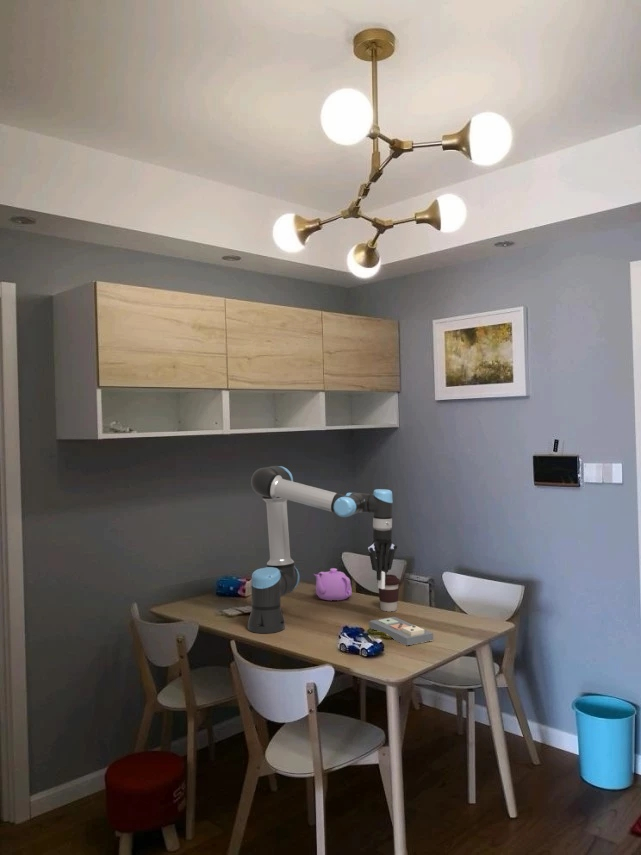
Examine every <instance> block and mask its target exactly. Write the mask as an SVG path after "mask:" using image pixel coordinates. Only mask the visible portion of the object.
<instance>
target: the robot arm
mask: <svg viewBox="0 0 641 855" xmlns="http://www.w3.org/2000/svg"><path fill="white" fill-rule="evenodd" d="M250 479H251V480H250V485H251V488H252V490H253V491H254V492H255V494H257V495H259V496H262V500H263V502H265V503H266V504H265V505H266V516H267V517H266V518H267V519H266V520H267V530H268V531H267V532H268V548H269V560H268V561H267V563H266V567H262V568H261V567H260V568H258V569H256V570H254V571H253V572H252V573H251V581H250V585H251V611H250V615H249V617H248V621H247V630H248V631H249V632H251V633H256V634H273V633H278V632H281V631H284V630H285V628H286V621H285V617H284V614H283V612H282V609H281V606H282V605H281V597H282V596H284V595H287V594H289V593H292V592H293V591H294V590H295V589H296V588H297V587H298V584H299V582H300V572H299V570H298V569H297V568H296V566H295V561H294V559H292V557H291V551H290V548H291V547H290V546H291V545H290V535H289V519H288V518H289V517H288V505H287V503H288V501H291V502H295V503H298V504H303V505H305V506H309V507H313V508H316V509H320V510H324V511H328V512H330V513H335V514H336V515H337V516H338V517H340V518H348V517H351V516H354V515H357V514H358V513H366V514H367V513H368V514H372V515H373V516H372V518H373V520H372V528H373V529H372V539H373V540H372V543H371V545H370V546H367V548H366V549H367V551H368V553H369V558H370V564H371V569H372V571H375V572H376V580H378V583H377V588H378V589H379V588H380V589H385V580H386V578H387V575H388V574H387V573H388V572H389V571H390V570H391V571H392V567H393V563H394V562H393V560H394V557H395V553H396V550H397V548H398V545H395V544H393V541H392V538H393V530H392V528H393V502H394V501H393V492H392V490H390V489H385V488H384V489H383V488H382V489H381V488H380V489H379V488H378V489H377V488H376V489H374V490H373V493H361V492H347V493H346V494H341V493H338V492H334V491H329V490H325V489H324V488H319V487H315V486H311V485H306V484H303V483H301V482H295V481H294V478H293V474H292V472H291V471H290V470H289V469H288V468H286V467H284V466H282V465H280V466H279V465H272V466H267V467H259V468H258V469H256V470H255V471H254V473H253V474H252V476H251V478H250Z"/></svg>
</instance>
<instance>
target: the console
mask: <svg viewBox="0 0 641 855" xmlns="http://www.w3.org/2000/svg"><path fill="white" fill-rule="evenodd" d="M387 618H391V619H394V620H396V621H398V622H399V623H393V624H387V625H385V624H383V623H381V622H379V621H378V620H381V619H387ZM368 623H369V629H370V628H371V629H370V630H372V629H374V630H377V631H380V632H384V633H386V634H388V635H389V636H391V637H392V638H393V639H394V640H393V639H392V640H393V641H395V640H396V641H395V642H397V641H398V642H397V643H399V642H400V644H401V643H402V645H403V644H405V645H412V644H416V643H421V642H425V641H430V640H433V641H434V633H433V632H431V631H429V630H427V629H424V634H421V635H415V636H409V635H407V634H405V633H403V632H402V630H396V629H394V628H392V627H390V625H395V624H400V623H403V624H405V625H407V626H416V625H415V624H412V623H409V622H407V621H405V620H403V619H401V618H398V617H396V616H391V617H385V618H378V619H372V620H369V622H368ZM374 630H373V631H374ZM405 645H404V646H405ZM412 646H413V645H412Z"/></svg>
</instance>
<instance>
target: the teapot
mask: <svg viewBox="0 0 641 855" xmlns="http://www.w3.org/2000/svg"><path fill="white" fill-rule="evenodd" d="M313 576H314V577H315V594H316V596H318V598H319V599H321V600H325V601H332V600H337V601H342V600H346V599H348V598H350V597H351V596H352V592H353V589H352V584H351V579H350V577H348V576H347V575H346V574H345V573H344V572H343V571H338V568H334V567H332V568H329V571H320V572H318V573H317V574H315V573H313Z"/></svg>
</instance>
